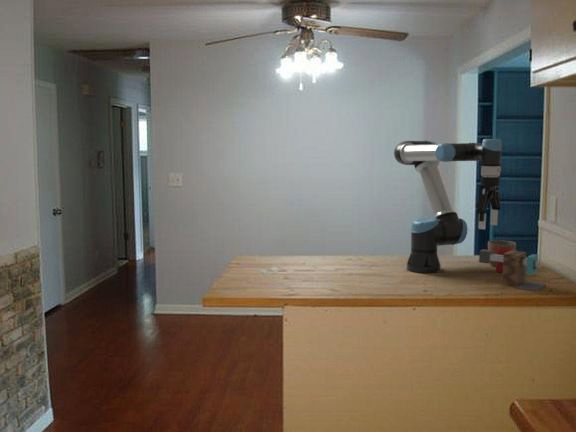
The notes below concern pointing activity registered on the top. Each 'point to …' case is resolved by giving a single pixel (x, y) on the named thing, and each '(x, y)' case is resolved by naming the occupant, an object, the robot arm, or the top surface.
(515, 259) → the bearing block
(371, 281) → the top surface
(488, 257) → the shaft
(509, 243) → the planter
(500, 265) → the beer can
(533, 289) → the pad
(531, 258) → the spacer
